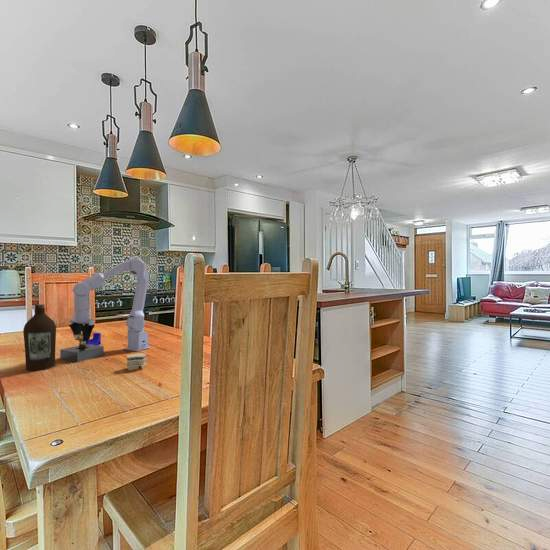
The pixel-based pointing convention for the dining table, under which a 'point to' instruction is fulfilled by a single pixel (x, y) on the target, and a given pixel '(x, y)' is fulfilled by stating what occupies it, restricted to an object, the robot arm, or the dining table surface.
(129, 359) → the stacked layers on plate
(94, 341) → the blue angular block
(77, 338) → the brass pin
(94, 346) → the block
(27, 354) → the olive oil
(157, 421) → the dining table surface
